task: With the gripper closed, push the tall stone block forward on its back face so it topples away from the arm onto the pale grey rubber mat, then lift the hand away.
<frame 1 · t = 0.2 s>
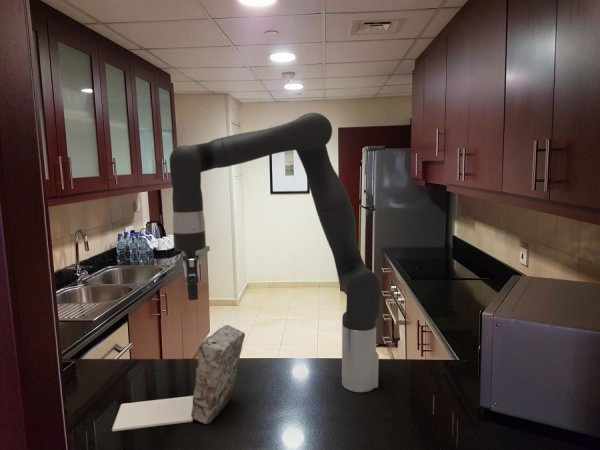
hand: (192, 294, 106), 29 cm above the countertop, tool pointing down, fingers open, 8 cm apart
stone block: (211, 408, 107), on the countertop
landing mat: (155, 413, 106), on the countertop
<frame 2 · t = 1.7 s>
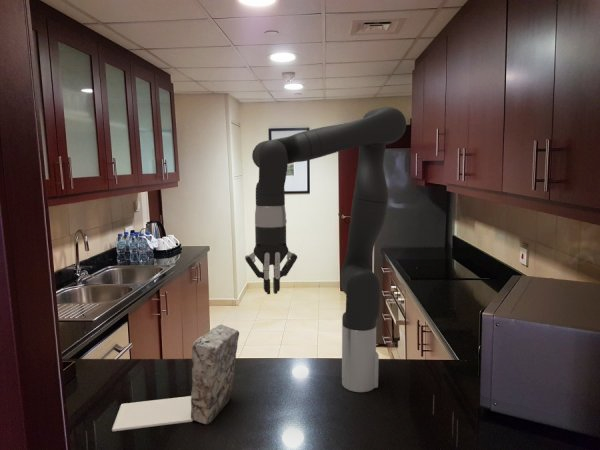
hand: (271, 293, 106), 29 cm above the countertop, tool pointing down, fingers closed
stone block: (211, 409, 107), on the countertop, touching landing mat
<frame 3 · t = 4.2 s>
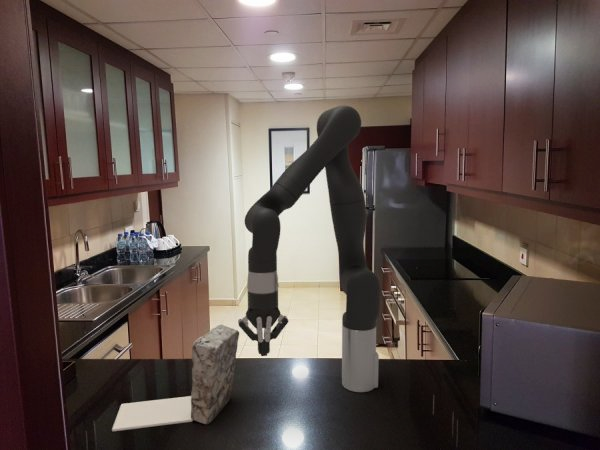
hand: (263, 354, 108), 13 cm above the countertop, tool pointing down, fingers closed
nothing on the countertop moved.
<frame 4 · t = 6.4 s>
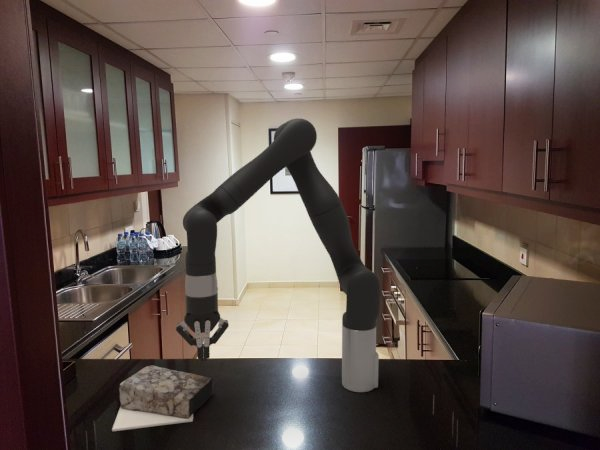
hand: (203, 360, 105), 13 cm above the countertop, tool pointing down, fingers closed
stone block: (202, 397, 108), point 3 cm above the countertop, touching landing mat
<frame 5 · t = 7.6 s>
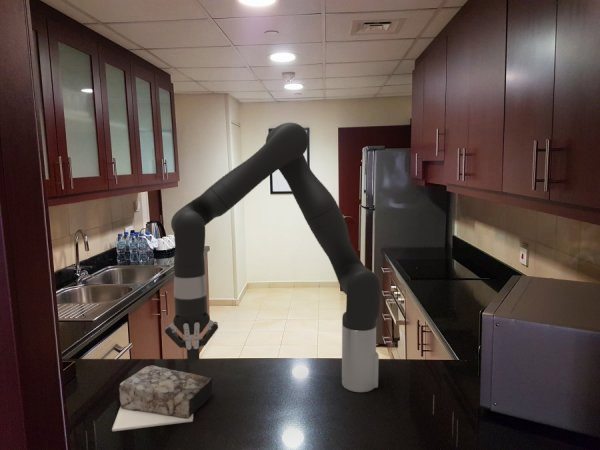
hand: (193, 362, 104), 13 cm above the countertop, tool pointing down, fingers closed
nothing on the countertop moved.
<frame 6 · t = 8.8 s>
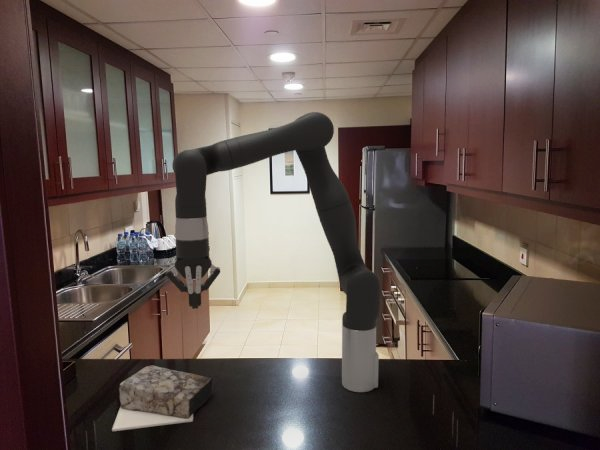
hand: (195, 307, 103), 27 cm above the countertop, tool pointing down, fingers closed
nothing on the countertop moved.
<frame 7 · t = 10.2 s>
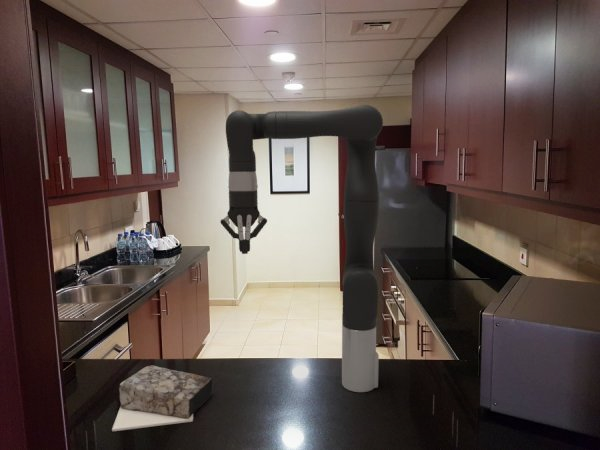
hand: (244, 253, 116), 37 cm above the countertop, tool pointing down, fingers closed
nothing on the countertop moved.
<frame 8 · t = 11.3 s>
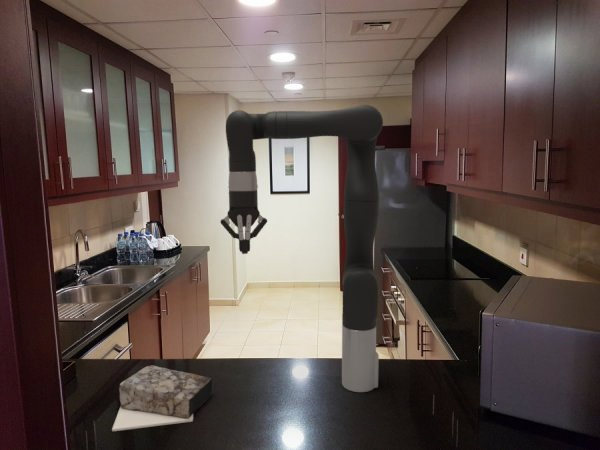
hand: (244, 253, 116), 37 cm above the countertop, tool pointing down, fingers closed
nothing on the countertop moved.
at the end: stone block tilted 88°; stone block inside the target area (5.6 cm from its centre), point 2.8 cm above the countertop; stone block touching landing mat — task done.
